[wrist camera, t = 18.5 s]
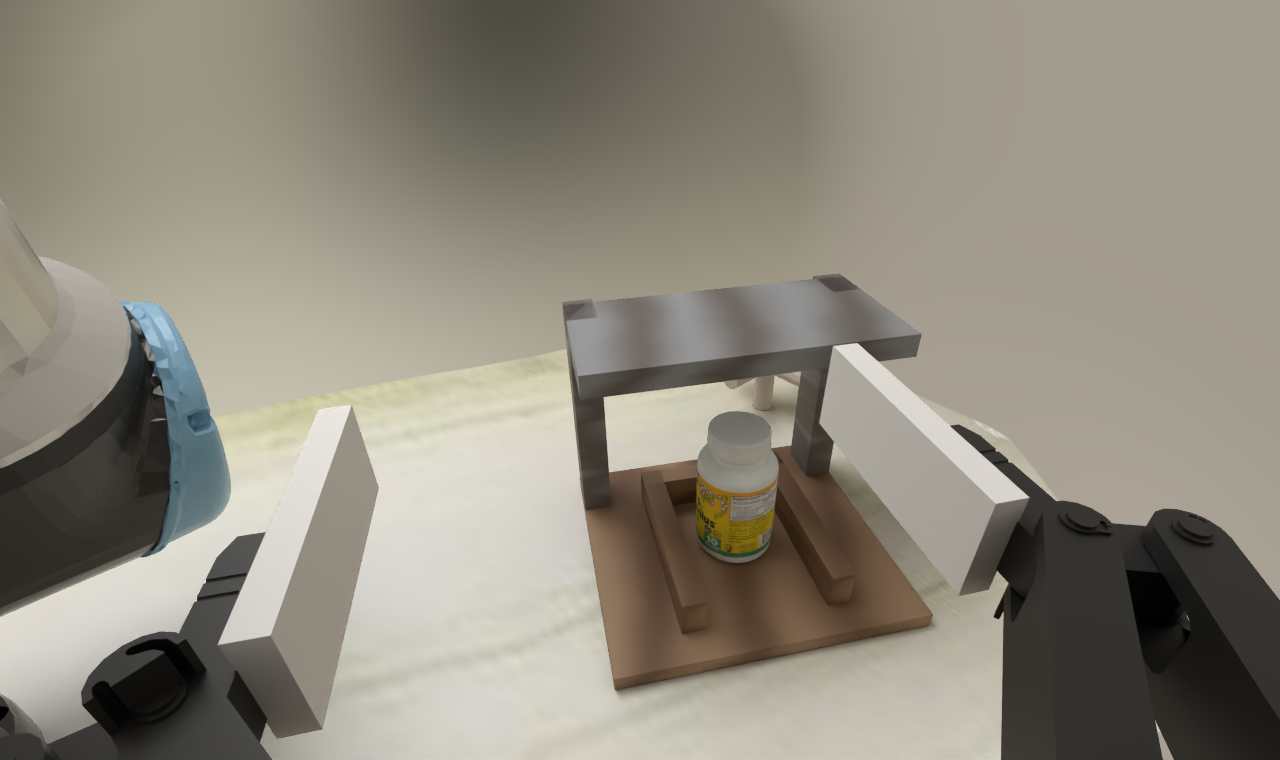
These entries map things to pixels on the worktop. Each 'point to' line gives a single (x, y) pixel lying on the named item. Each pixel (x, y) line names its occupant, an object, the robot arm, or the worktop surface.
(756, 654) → the keeper holder
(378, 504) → the worktop surface
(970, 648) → the worktop surface
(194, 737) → the robot arm
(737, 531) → the supplement bottle
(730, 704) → the worktop surface
